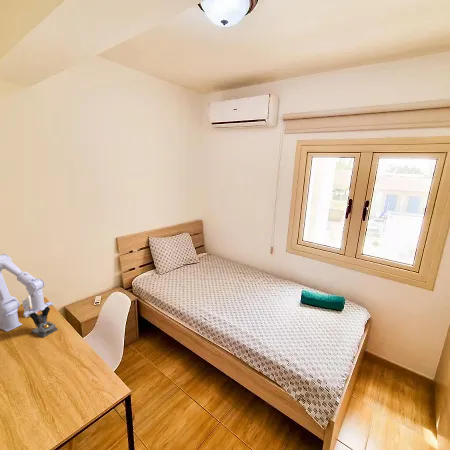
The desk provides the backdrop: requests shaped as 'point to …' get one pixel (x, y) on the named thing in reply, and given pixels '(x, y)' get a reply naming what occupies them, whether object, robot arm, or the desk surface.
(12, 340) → the desk surface
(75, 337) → the desk surface
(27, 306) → the ink cartridge box
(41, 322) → the link
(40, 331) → the frame
